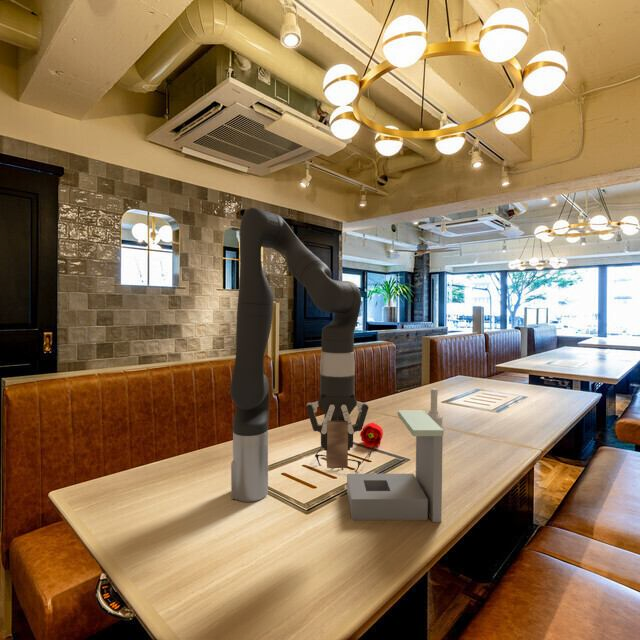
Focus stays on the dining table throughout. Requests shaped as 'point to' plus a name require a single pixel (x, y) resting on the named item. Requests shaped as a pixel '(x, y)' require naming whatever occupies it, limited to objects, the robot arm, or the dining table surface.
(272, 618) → the dining table surface
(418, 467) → the panel
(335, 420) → the peg
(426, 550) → the dining table surface
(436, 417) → the bottle
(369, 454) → the eyeglasses
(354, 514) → the socket
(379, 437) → the flower
